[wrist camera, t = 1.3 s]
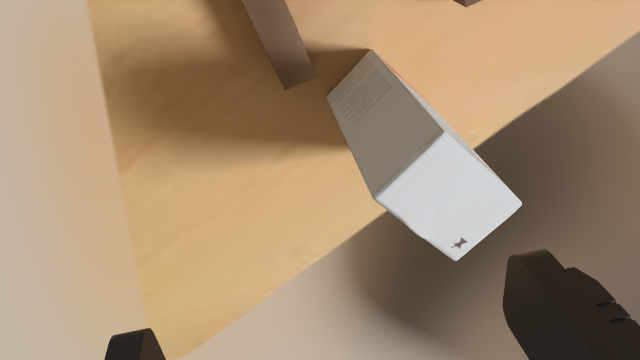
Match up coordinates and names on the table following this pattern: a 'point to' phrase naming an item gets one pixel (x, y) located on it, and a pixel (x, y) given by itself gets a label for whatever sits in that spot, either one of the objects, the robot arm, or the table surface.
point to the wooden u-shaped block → (286, 39)
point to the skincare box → (417, 160)
